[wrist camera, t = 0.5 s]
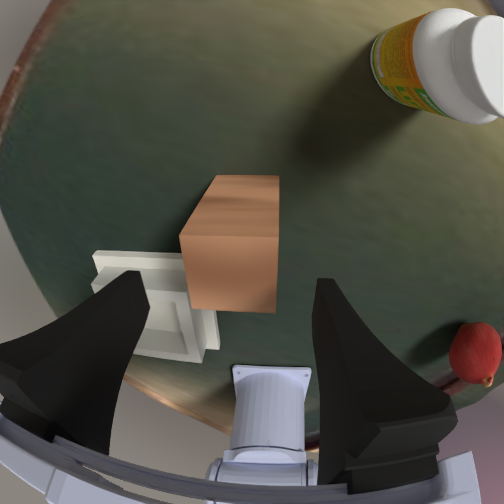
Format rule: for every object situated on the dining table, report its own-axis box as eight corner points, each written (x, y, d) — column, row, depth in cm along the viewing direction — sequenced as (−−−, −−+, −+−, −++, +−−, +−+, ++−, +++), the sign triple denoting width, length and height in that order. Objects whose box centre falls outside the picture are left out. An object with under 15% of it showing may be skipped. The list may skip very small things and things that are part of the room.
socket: (220, 343, 27) (214, 370, 24) (126, 332, 28) (115, 356, 25) (208, 254, 22) (198, 281, 19) (96, 250, 23) (77, 272, 20)
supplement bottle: (364, 96, 15) (446, 114, 7) (370, 17, 12) (450, -29, 4) (438, 115, 15) (542, 157, 6) (445, 42, 12) (550, 39, 4)
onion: (491, 315, 23) (521, 370, 16) (456, 349, 26) (478, 406, 19) (469, 297, 22) (504, 360, 15) (430, 336, 25) (453, 401, 18)
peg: (277, 231, 20) (275, 313, 14) (220, 230, 21) (191, 308, 14) (279, 175, 18) (278, 237, 11) (216, 175, 19) (179, 235, 12)
